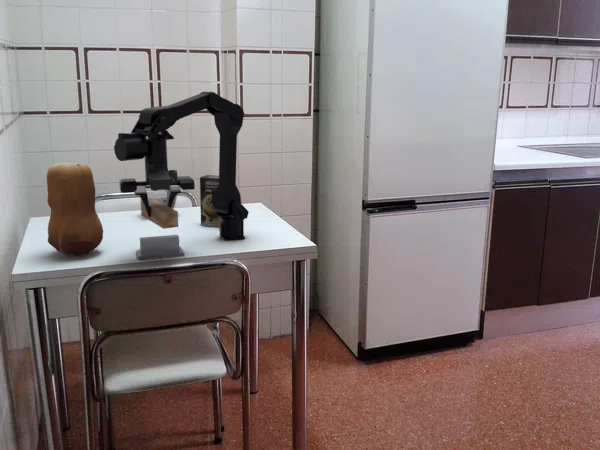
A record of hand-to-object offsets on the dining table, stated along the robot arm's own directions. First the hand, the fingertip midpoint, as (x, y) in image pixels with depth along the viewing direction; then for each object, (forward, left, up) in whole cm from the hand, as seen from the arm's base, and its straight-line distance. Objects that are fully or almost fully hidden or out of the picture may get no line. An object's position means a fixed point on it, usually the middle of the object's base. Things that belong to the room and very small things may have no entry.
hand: (158, 216), depth 152 cm
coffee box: (-22, -29, -11) cm, 38 cm away
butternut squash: (+21, -8, -11) cm, 25 cm away
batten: (0, 0, -1) cm, 1 cm away
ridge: (0, 0, -11) cm, 11 cm away
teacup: (-5, -47, -11) cm, 49 cm away
